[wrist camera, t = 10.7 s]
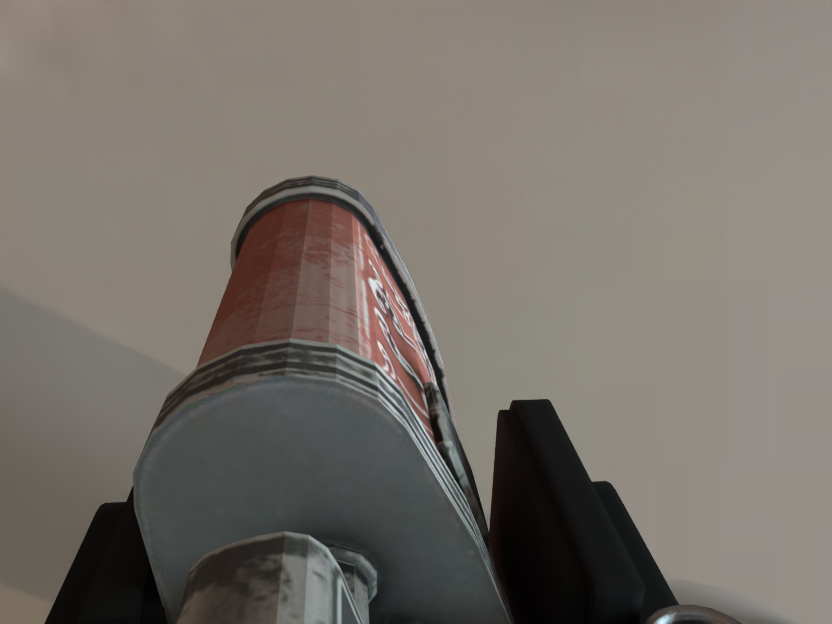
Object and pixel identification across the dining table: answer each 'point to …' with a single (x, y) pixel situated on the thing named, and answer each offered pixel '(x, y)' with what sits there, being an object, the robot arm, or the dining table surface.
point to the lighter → (315, 440)
